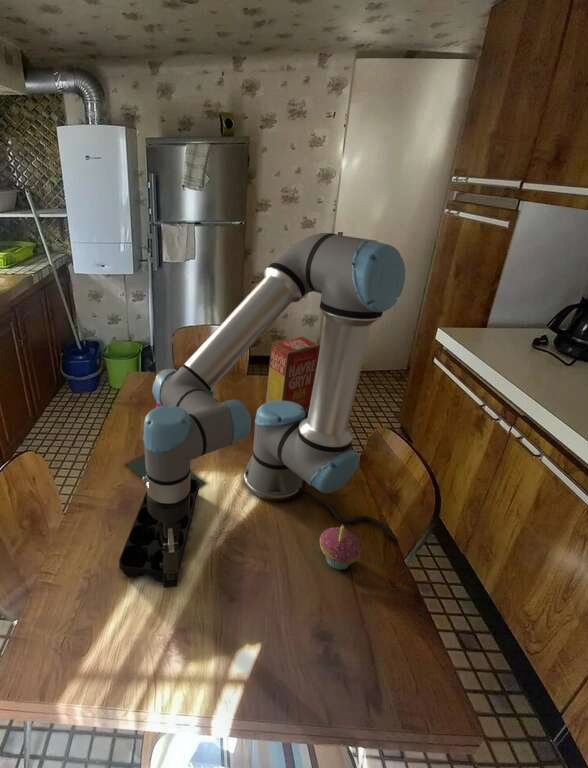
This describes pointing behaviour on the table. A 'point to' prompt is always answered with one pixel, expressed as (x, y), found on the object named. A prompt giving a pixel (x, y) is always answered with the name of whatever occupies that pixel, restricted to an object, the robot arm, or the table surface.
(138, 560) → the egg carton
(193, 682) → the table surface
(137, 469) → the mat
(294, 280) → the robot arm
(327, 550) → the cupcake
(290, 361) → the food packaging
